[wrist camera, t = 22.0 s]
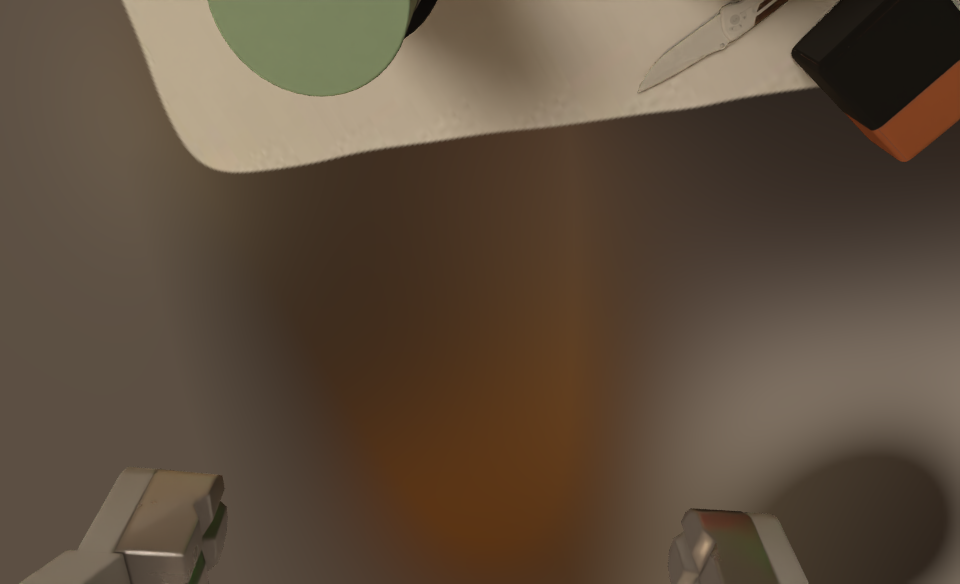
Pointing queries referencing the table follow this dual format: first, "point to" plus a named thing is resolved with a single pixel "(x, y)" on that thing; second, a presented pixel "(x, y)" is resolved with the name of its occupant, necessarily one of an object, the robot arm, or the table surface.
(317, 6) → the green cylinder
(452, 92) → the table surface
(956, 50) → the battery
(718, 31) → the pocket knife
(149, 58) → the table surface
